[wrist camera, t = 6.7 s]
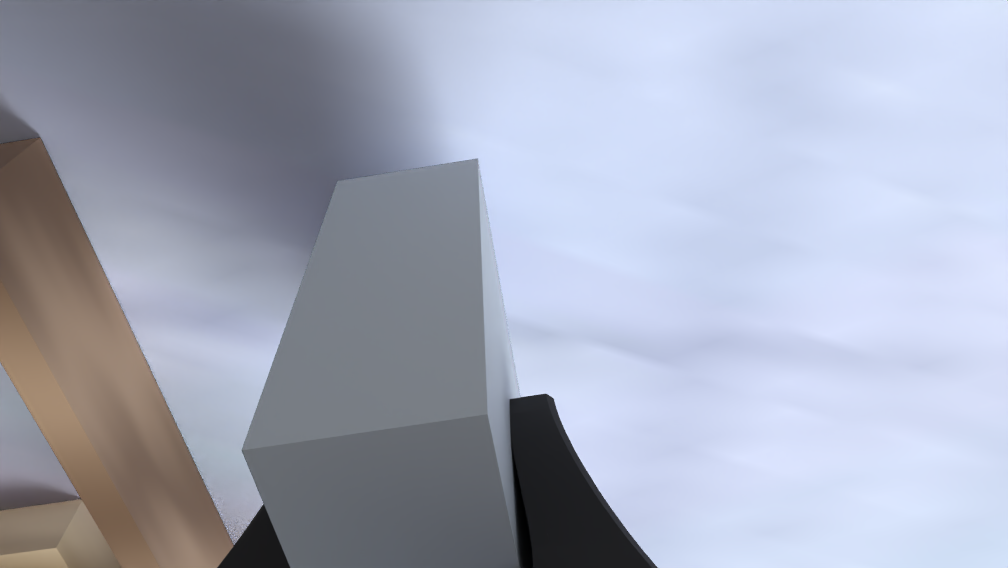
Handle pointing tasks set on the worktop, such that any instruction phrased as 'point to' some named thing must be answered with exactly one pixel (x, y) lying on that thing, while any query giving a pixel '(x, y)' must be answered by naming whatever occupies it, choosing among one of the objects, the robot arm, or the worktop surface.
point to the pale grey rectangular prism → (395, 387)
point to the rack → (93, 379)
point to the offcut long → (53, 538)
